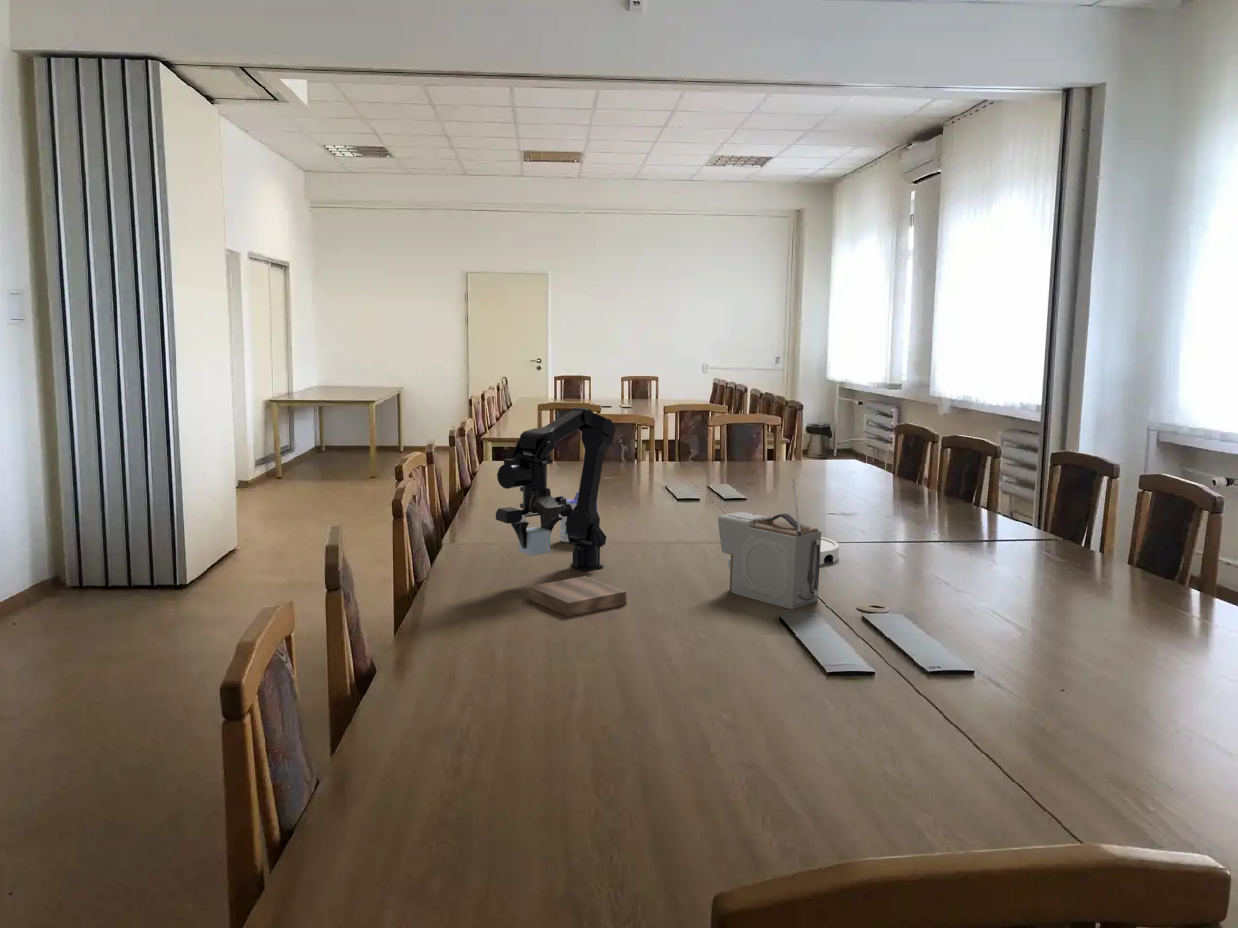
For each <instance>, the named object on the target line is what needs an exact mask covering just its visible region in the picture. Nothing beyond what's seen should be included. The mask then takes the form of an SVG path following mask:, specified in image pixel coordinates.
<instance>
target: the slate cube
mask: <svg viewBox="0 0 1238 928" xmlns="http://www.w3.org/2000/svg"><path fill="white" fill-rule="evenodd" d="M526 532H527V544H526V549H523V548H522V546H521V543H520V541H519V540H518V552H519V553H523V554H525V555H527V556H529V557H530V556H531V557H532V556H533V557H534V556H539V555H546V554H551V535H550V530H547V529H544V528H541V526H533V527H527V528H526Z"/></svg>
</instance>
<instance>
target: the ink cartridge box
mask: <svg viewBox="0 0 1238 928" xmlns="http://www.w3.org/2000/svg"><path fill="white" fill-rule="evenodd" d="M578 494H579V491H578V492H576V493H575V496H574V497H573V498H574V499H573V498H572V499H569V498H568V499H566V503H568V504H570V505H571V507H572V509H574V507H575V506H576V505H577V500H578ZM596 510H597V511H598V502H596ZM560 517H561V518H562V520H559V521H560V523H559V524H560V525H559V526H560V527H559V528H560V530H559V541H560V542H565V543H569V540H568V536H567V533H566V526H565V523H566V520H567V516H565V517H563V516H561V515H560Z"/></svg>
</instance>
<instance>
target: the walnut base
mask: <svg viewBox="0 0 1238 928" xmlns="http://www.w3.org/2000/svg"><path fill="white" fill-rule="evenodd" d="M528 600H530V601H532V602H535V603H537V604H540V605H542V606H544V607H546V608H548V609H551V610H552V611H555V612H557V613H559V614H561V615H564V616H566V617H573V616H578V615H581V614H585V613H591V612H597V611H600V610H605V609H611V608H615V607H620V606H624V605H627V591H626V590H623V589H620V588H619V587H616V586H613V585H611V584H607V583H604V582H601V581H600V580H597V579H593V578H592V577H588V576H586V575H584V576H577V577H571V578H568V579H567V578H566V579H562V580H557V581H551V582H545V583H539V584H534V585H529V586H528Z"/></svg>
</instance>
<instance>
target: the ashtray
mask: <svg viewBox="0 0 1238 928" xmlns="http://www.w3.org/2000/svg"><path fill="white" fill-rule="evenodd" d="M839 547H840V546H839V543H838V542H837V541H835V540H833V539H831V538H826V537H823V536H821V547H820V566H823V565H822V564H824V565H825V558H826V556H829V558H830V560H831V561H833V562H832V563H836V562H837V561H838V560H839V550H840V549H839ZM835 561H836V562H835Z"/></svg>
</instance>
